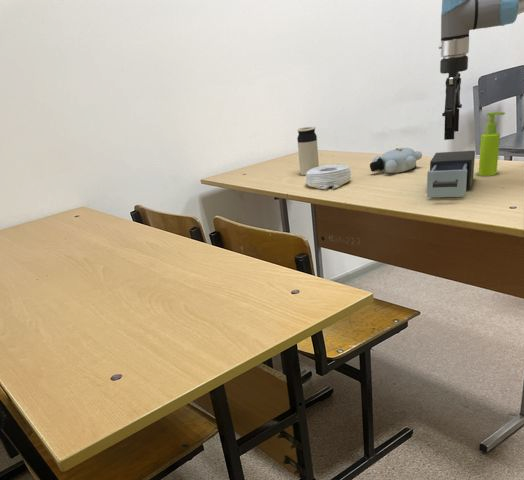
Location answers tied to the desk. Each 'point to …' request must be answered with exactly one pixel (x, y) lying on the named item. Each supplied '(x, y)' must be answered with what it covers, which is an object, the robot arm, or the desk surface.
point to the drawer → (447, 180)
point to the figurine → (396, 160)
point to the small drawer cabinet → (457, 158)
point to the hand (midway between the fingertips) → (451, 135)
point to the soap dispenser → (489, 147)
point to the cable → (328, 176)
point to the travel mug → (307, 149)
